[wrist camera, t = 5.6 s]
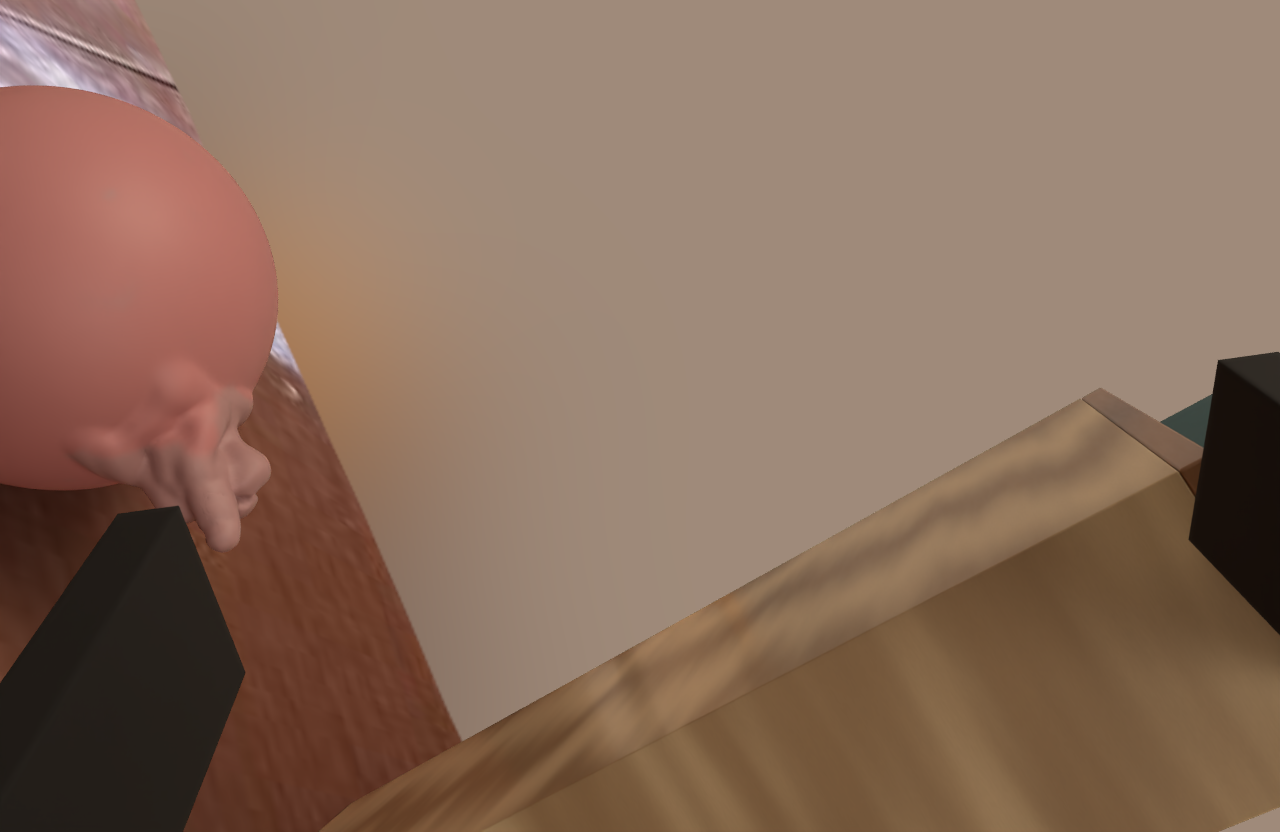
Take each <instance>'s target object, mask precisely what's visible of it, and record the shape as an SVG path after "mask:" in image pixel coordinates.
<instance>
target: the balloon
mask: <svg viewBox="0 0 1280 832" xmlns="http://www.w3.org/2000/svg"><path fill="white" fill-rule="evenodd" d="M277 314H278V288H277V277H276V271H275V265H274V260H273V256H272V253H271V249H270V245H269V242H268V239H267V237H266V234H265V231H264V229H263V227H262V224H261V222H260V220H259V218H258V216H257V214H256V212H255V210H254V209H253V207H252V205H251V203H250V202H249V201H248V198H247V197H246V195H245V194H244V192H243V191H242V189H241V188H240V187H239V185H238V184H237V183H236V181H235V180H234V179H233V177H232V176H231V175H230V174H229V173H228V172H227V170H226V169H225V168H224V167H223V166H222V165H221V164H220V163H219V162H218V161H217V160H216V159H215V158H214V157H213V156H212V155H211V154H210V153H209V152H208V151H207V150H205V149H204V148H203V147H202V146H201V145H200V144H198V143H197V142H196V141H195V140H193V139H192V138H191V137H189V136H188V135H187V134H185V133H184V132H182V131H181V130H179V129H178V128H176V127H175V126H173V125H171V124H170V123H168V122H166V121H165V120H163V119H161V118H159V117H157V116H155V115H154V114H152V113H150V112H148V111H145V110H143V109H141V108H139V107H136V106H134V105H131V104H129V103H126V102H123V101H121V100H118V99H115V98H111V97H108V96H105V95H101V94H97V93H93V92H88V91H84V90H78V89H72V88H64V87H55V86H11V87H1V88H0V483H1V484H5V485H10V486H16V487H22V488H30V489H40V490H82V489H92V488H99V487H105V486H110V485H115V484H120V483H121V484H128V485H131V486H135V487H140V488H141V489H142V490H143V491H144V492H145V494H146V495H147V496H148V497H149V499H150V500H151V502H152V504H153V505H154V507H155V508H156V509H157V508H164V507H171V506H178V505H179V507H180V510H181V512H182V515H183V517H184V520H185V522H186V523H189V522H192V521H195V520H196V521H197V524H198V526H199V527H200V529H201V530H202V531H203V532H204V533H205V537H206V542H207V544H208V546H209V547H210V548H211V549H213V550H215V551H218V552H227V551H230V550H231V549H233V548H234V547H235V546H236V545H237V544H238V542H239V539H240V532H241V524H240V518H244V517H245V516H247V515H248V514H249V513H250V512H251V511H252V510H253V508H254V507H255V505H256V503H257V500H258V497H257V495H256V494H255V493H256V492H257V491H258V490H259V489H260V488H261V487H262V486H263V485H264V484H265V483H266V482H267V481H268V480H269V478H270V475H271V467H270V463H269V461H268V459H267V458H266V457H265V456H264V455H263V454H262V453H260V452H259V451H257V450H256V449H254V448H252V447H250V446H249V445H247V444H246V443H245V442H244V441H243V440H242V438H241V437H240V435H239V433H238V430H237V427H239V426H240V425H242V424H243V423H244V422H245V421H246V419H247V418H248V416H249V415H250V413H251V410H252V407H253V396H252V391H253V390H254V388H255V386H256V384H257V382H258V380H259V379H260V376H261V374H262V372H263V370H264V368H265V365H266V363H267V360H268V357H269V354H270V351H271V348H272V344H273V340H274V335H275V330H276V323H277Z"/></svg>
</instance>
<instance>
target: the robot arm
mask: <svg viewBox="0 0 1280 832" xmlns="http://www.w3.org/2000/svg"><path fill="white" fill-rule="evenodd" d="M1188 540H1189V541H1190V542H1191V543H1192V544H1193V545H1194V546H1195V547H1196V548H1197V549H1198V550H1199V551H1200V552H1201V553H1202V555H1203V556H1204V557H1205V558H1206V559H1207V560H1208V561H1209V562H1210V563H1211V564H1212V565H1213V566H1214V567H1215V568H1216V569H1217V570H1218V571H1219V572H1220V573H1221V574H1222V575H1223V576H1224V578H1225V579H1226V580H1227V581H1228V582H1229V583H1230V584H1231V585H1232V586H1233V587H1234V588H1235V589H1236V590H1237V591H1238V592H1239V593H1240V594H1241V595H1242V596H1243V597H1244V598H1245V599H1246V601H1247V602H1248V603H1249V604H1250V605H1251V606H1252V607H1253V608H1254V609H1255V610H1256V611H1257V612H1258V613H1259V614H1260V615H1261V616H1262V617H1263V618H1264V619H1265V620H1266V621H1267V622H1268V624H1269V625H1270V626H1271V627H1272V628H1273V629H1274V630H1275V631H1276V632H1277V633H1278V634H1279V635H1280V353H1279V352H1274V353H1267V354H1259V355H1252V356H1245V357H1238V358H1231V359H1223V360H1218V364H1217V370H1216V376H1215V382H1214V388H1213V394H1212V400H1211V406H1210V412H1209V418H1208V424H1207V430H1206V436H1205V442H1204V448H1203V454H1202V460H1201V466H1200V472H1199V478H1198V484H1197V490H1196V496H1195V502H1194V508H1193V515H1192V521H1191V527H1190V533H1189V539H1188ZM244 675H245V670H244V668H243V665H242V663H241V660H240V657H239V655H238V652H237V650H236V647H235V645H234V642H233V640H232V637H231V635H230V632H229V630H228V627H227V625H226V622H225V620H224V617H223V615H222V612H221V610H220V607H219V605H218V602H217V600H216V597H215V595H214V592H213V590H212V587H211V585H210V582H209V580H208V577H207V575H206V572H205V570H204V567H203V565H202V562H201V560H200V557H199V555H198V552H197V550H196V547H195V545H194V542H193V540H192V537H191V535H190V532H189V530H188V527H187V525H186V522H185V520H184V517H183V515H182V512H181V510H180V507H179V505H178V506H171V507H164V508H157V509H150V510H142V511H135V512H128V513H121V514H117V516H116V517H115V519H114V520H113V521H112V523H111V524H110V526H109V527H108V529H107V530H106V532H105V533H104V534H103V536H102V537H101V539H100V540H99V542H98V543H97V545H96V546H95V547H94V549H93V550H92V552H91V553H90V555H89V556H88V558H87V559H86V560H85V562H84V563H83V565H82V566H81V568H80V569H79V570H78V572H77V573H76V575H75V576H74V578H73V579H72V581H71V582H70V583H69V585H68V586H67V588H66V589H65V591H64V592H63V594H62V595H61V596H60V598H59V599H58V601H57V602H56V604H55V605H54V606H53V608H52V609H51V611H50V612H49V614H48V615H47V617H46V618H45V619H44V621H43V622H42V624H41V625H40V627H39V628H38V630H37V631H36V632H35V634H34V635H33V637H32V638H31V640H30V641H29V643H28V644H27V645H26V647H25V648H24V650H23V651H22V653H21V654H20V655H19V657H18V658H17V660H16V661H15V663H14V664H13V666H12V667H11V668H10V670H9V671H8V673H7V674H6V676H5V677H4V679H3V680H2V681H1V683H0V832H183V830H184V828H185V825H186V823H187V820H188V818H189V815H190V812H191V810H192V807H193V805H194V802H195V800H196V797H197V795H198V792H199V790H200V787H201V785H202V782H203V779H204V777H205V774H206V772H207V769H208V767H209V764H210V762H211V759H212V757H213V754H214V751H215V749H216V746H217V744H218V741H219V739H220V736H221V734H222V731H223V729H224V726H225V724H226V721H227V718H228V716H229V713H230V711H231V708H232V706H233V703H234V701H235V698H236V696H237V693H238V691H239V688H240V685H241V683H242V680H243V678H244Z"/></svg>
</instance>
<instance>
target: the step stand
mask: <svg viewBox="0 0 1280 832" xmlns="http://www.w3.org/2000/svg"><path fill="white" fill-rule="evenodd" d="M1202 454H1203V447H1201V446H1200V445H1198V444H1196V443H1195V442H1193V441H1191V440H1189V439H1188V438H1186V437H1184V436H1183V435H1181V434H1179V433H1177V432H1176V431H1174V430H1172V429H1171V428H1169V427H1167V426H1165V425H1164V424H1162V423H1160V422H1159V421H1157V420H1155V419H1153V418H1152V417H1150V416H1148V415H1147V414H1145V413H1143V412H1142V411H1140V410H1138V409H1136V408H1135V407H1133V406H1131V405H1130V404H1128V403H1126V402H1124V401H1123V400H1121V399H1119V398H1118V397H1116V396H1114V395H1112V394H1111V393H1109V392H1107V391H1106V390H1104V389H1102V388H1099V389H1097V390H1095V391H1093V392H1092V393H1090V394H1088V395H1086V396H1084V397H1083V398H1082V400H1081V399H1079V400H1077V401H1075V402H1073V403H1071V404H1070V405H1068V406H1066V407H1064V408H1062V409H1061V410H1059V411H1057V412H1055V413H1053V414H1052V415H1050V416H1048V417H1046V418H1044V419H1043V420H1041V421H1039V422H1037V423H1035V424H1034V425H1032V426H1030V427H1028V428H1026V429H1025V430H1023V431H1021V432H1019V433H1017V434H1016V435H1014V436H1012V437H1010V438H1008V439H1007V440H1005V441H1003V442H1001V443H1000V444H998V445H996V446H994V447H992V448H990V449H989V450H987V451H985V452H983V453H981V454H980V455H978V456H976V457H974V458H972V459H970V460H969V461H967V462H965V463H964V464H961V465H960V466H958V467H956V468H954V469H953V470H951V471H949V472H947V473H945V474H944V475H942V476H940V477H938V478H936V479H934V480H933V481H931V482H929V483H927V484H926V485H924V486H922V487H920V488H918V489H917V490H915V491H913V492H911V493H909V494H907V495H906V496H904V497H902V498H900V499H898V500H897V501H895V502H893V503H891V504H889V505H888V506H886V507H884V508H883V509H881V510H879V511H877V512H875V513H873V514H871V515H870V516H868V517H866V518H864V519H862V520H861V521H859V522H857V523H855V524H854V525H852V526H850V527H848V528H846V529H845V530H843V531H841V532H839V533H837V534H836V535H834V536H832V537H830V538H828V539H827V540H825V541H823V542H821V543H819V544H817V545H816V546H814V547H812V548H810V549H808V550H807V551H805V552H803V553H801V554H800V555H798V556H796V557H794V558H792V559H790V560H789V561H787V562H785V563H783V564H781V565H780V566H778V567H776V568H774V569H772V570H771V571H769V572H767V573H765V574H763V575H762V576H760V577H758V578H756V579H754V580H753V581H751V582H749V583H747V584H745V585H744V586H742V587H740V588H739V589H736V590H735V591H733V592H731V593H730V594H727V595H726V596H724V597H722V598H720V599H718V600H717V601H715V602H713V603H711V604H709V605H708V606H706V607H704V608H702V609H700V610H699V611H697V612H695V613H693V614H691V615H690V616H688V617H686V618H684V619H682V620H681V621H679V622H677V623H675V624H673V625H672V626H670V627H668V628H666V629H664V630H662V631H661V632H659V633H657V634H655V635H653V636H652V637H650V638H648V639H646V640H645V641H643V642H641V643H639V644H637V645H635V646H634V647H632V648H630V649H628V650H627V651H625V652H623V653H621V654H619V655H618V656H616V657H614V658H612V659H610V660H609V661H607V662H605V663H603V664H602V665H599V666H598V667H596V668H594V669H592V670H590V671H589V672H587V673H585V674H583V675H581V676H580V677H578V678H576V679H574V680H572V681H571V682H569V683H567V684H565V685H564V686H562V687H560V688H558V689H556V690H554V691H553V692H551V693H549V694H547V695H545V696H544V697H542V698H540V699H538V700H537V701H535V702H533V703H531V704H529V705H528V706H526V707H524V708H522V709H520V710H518V711H517V712H515V713H513V714H511V715H509V716H508V717H506V718H504V719H502V720H501V721H499V722H497V723H495V724H493V725H491V726H490V727H488V728H486V729H484V730H482V731H481V732H479V733H477V734H475V735H474V736H472V737H470V738H468V739H466V740H464V741H463V742H461V743H459V744H457V745H455V746H454V747H452V748H450V749H448V750H446V751H445V752H443V753H441V754H439V755H437V756H436V757H434V758H432V759H430V760H428V761H427V762H425V763H423V764H421V765H419V766H418V767H416V768H414V769H412V770H410V771H409V772H407V773H405V774H403V775H401V776H400V777H398V778H396V779H394V780H392V781H391V782H389V783H387V784H385V785H383V786H382V787H380V788H378V789H376V790H374V791H373V792H371V793H369V794H367V795H365V796H364V797H362V798H360V799H358V800H356V801H354V802H353V803H351V804H350V805H349V806H348V807H346V808H345V809H344V810H343V811H342V812H341V813H339V814H338V815H337V816H336V817H335V818H334V819H333V820H331V821H330V822H329V823H328V824H327V825H326V826H324V827H323V828H322V829H321V830H320V831H319V832H1219V831H1221V830H1224V829H1226V828H1229V827H1231V826H1234V825H1236V824H1239V823H1241V822H1244V821H1246V820H1249V819H1251V818H1254V817H1256V816H1259V815H1261V814H1264V813H1266V812H1269V811H1271V810H1274V809H1276V808H1279V807H1280V635H1279V634H1278V633H1277V632H1276V631H1275V630H1274V629H1273V628H1272V627H1271V626H1270V625H1269V624H1268V622H1267V621H1266V620H1265V619H1264V618H1263V617H1262V616H1261V615H1260V614H1259V613H1258V612H1257V611H1256V610H1255V609H1254V608H1253V607H1252V606H1251V605H1250V604H1249V603H1248V602H1247V601H1246V599H1245V598H1244V597H1243V596H1242V595H1241V594H1240V593H1239V592H1238V591H1237V590H1236V589H1235V588H1234V587H1233V586H1232V585H1231V584H1230V583H1229V582H1228V581H1227V580H1226V579H1225V578H1224V576H1223V575H1222V574H1221V573H1220V572H1219V571H1218V570H1217V569H1216V568H1215V567H1214V566H1213V565H1212V564H1211V563H1210V562H1209V561H1208V560H1207V559H1206V558H1205V557H1204V556H1203V555H1202V553H1201V552H1200V551H1199V550H1198V549H1197V548H1196V547H1195V546H1194V545H1193V544H1192V543H1191V542H1190V541H1189V540H1188V539H1189V533H1190V527H1191V521H1192V515H1193V508H1194V502H1195V496H1196V490H1197V484H1198V478H1199V472H1200V466H1201V460H1202Z"/></svg>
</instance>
